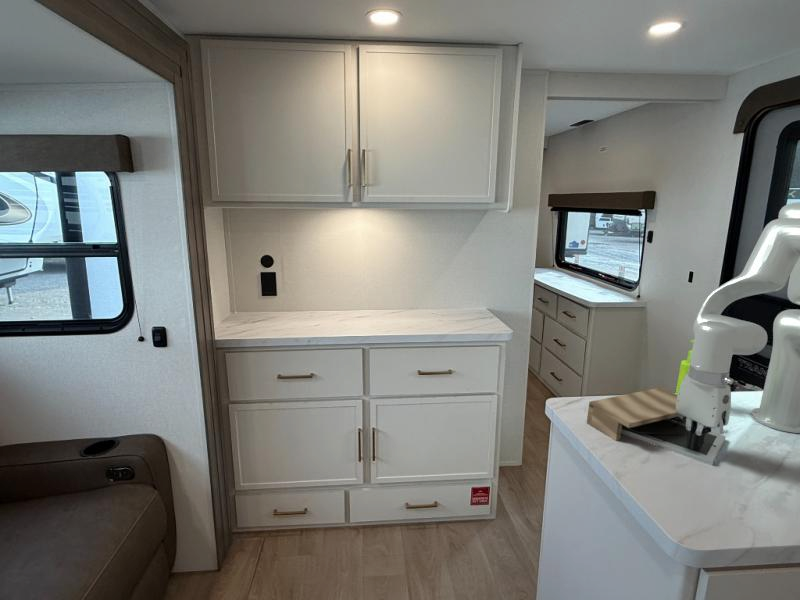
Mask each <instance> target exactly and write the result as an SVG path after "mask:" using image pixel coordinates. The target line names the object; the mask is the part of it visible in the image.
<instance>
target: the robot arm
mask: <svg viewBox="0 0 800 600" xmlns="http://www.w3.org/2000/svg"><path fill="white" fill-rule="evenodd" d="M777 217H778V218H776V219H773V220H771V221H770V222H768V223H767V224H766V225H765V227H764V228H763V230H762V232H761V234H760V236H759V238H758V240H757V241H756V244H755V246H754V248H753V250H752V252H751V254H750V256H749V258H748V260H747V261H746V264H745V266H744V268H743V269H742V271H741V272H740V274H738V276H736V277H734V278H732V279H730V280H729V281H727V282H725V283H723V284H721V285H720V286H718V287H717V288H716V289H714V290H713V291H712V292H711V293H710V294H709V295H708V296H707V297H706V298H705V300H704V301H703V303H702V305H701V307H700V308H699V309H700V310H699V311H698V313H697V315H696V317H695V320H694V322H693V325H692V326H693V327H692V333H693V335H694V339H693V340H694V344H692V348H693V350H692V349H691V350H692V355H691V361H690V366H689V371H688V374H687V375H685V377H684V379H683V381H682V384H681V386H680V389H679V393H678V396H677V400H676V415H677V416H679V417H680V418H681V419H683V421H684V424H686V429H687V430H688V434H687V439H686V441H687V444H686V446H687V447H690V448H691V449H693V450H694V449H698V448H701V447H702V446H703V442H704V437H705V434H707V433H709V432H710V433H713V434H718V435H723V434H724V426H728V425H729V422H730V414H731V403H732V392H731V385H732V384H733V383H734V379H733V378H731V377H730V369H731V364H732V360H733V359H732V357H733V355H739V356H751V355H754V354H757V353H759V352H761V351H762V350H763V349H764V348H765V346H766V345H767V343H768V334H767V330H765V328H764V327H762V326H761V325H759V324H756V323H754V322H751V321H746V320H743V319H742V320H741V319H738V318H736V317H735V318H734V317H730V316H726V315H722V313H723V312H724V310H725V309H726V308H727V307H728V306H729V305H730V304H732V303H733V302H735V301H737V300H741V299H743V298H747V297H751V296H755V295H761V294H766V293H772V292H777V291H780V290H782V289H783V288H784V287H786V285H787V283H788V285H787V298H788V300H789V301H790V302H791V303H793V304H794V305H795V304H796V305H797V306H798V305H799V306H800V202H791V203H788V204H785V205H784V206H782V207H781V209H780V210H779V212H778V216H777ZM772 326H773V327H772V333H773V334H772V336H773V337H772V339H773V340H772V350H771V355H770V360H769V364H768V369H767V373H766V377H765V383H764V387H763V391H762V396H761V400H760V405H759V407H758V408H757V407H756V408H753V409H752V410H751V413H750V416H751V417H752V419H753V420H755V421H756V422H757V423H760V424H762V425H764V426H766V427H769V428H771V429H774V430H778V431H782V432H787V433H793V434H800V309H798V308H797V309H793V308H792V309H786V310H782V311H780V312H779V313H778V314H777V315H776V317H775V318H774V321H773V324H772Z"/></svg>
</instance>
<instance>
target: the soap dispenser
mask: <svg viewBox="0 0 800 600" xmlns="http://www.w3.org/2000/svg"><path fill="white" fill-rule="evenodd" d="M689 342H690V343H693V344H694V339H690V341H689ZM693 344H692V345H693ZM691 348H692V349H690V350H688V351H687V352H688V353H687V357H686V359H684V360H681V362H680V366H679V372H678V377H677V384H676V389H675V394H676V395H678V393H679V389H680V386H681V384H682V381H683V379H684V377H685V375H687V374H688V371H689V366H690V361H691V355H692V350H693V347H691Z"/></svg>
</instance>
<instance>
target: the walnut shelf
mask: <svg viewBox="0 0 800 600" xmlns="http://www.w3.org/2000/svg"><path fill="white" fill-rule="evenodd" d="M677 396H678V395H676V393H674V392H671V391H669V390H667V389H665V388H662V387H657V388H652V389H651V388H650V389H645V390H641V391H637V392H631V393H627V394H621V395H617V396H611V397H606V398H601V399H596V400H592V401H589V402H588V409H587V419H586V424H587V425H589V426H590V427H592V428H594V429H595V430H597V431H599V432H601V433H602V434H603V435H605V436H607V437H609V438H611V440H613V441H615V442H616V441H620V440H621V436H622V433H621V430H622V425H624V426H626V427H628V428H631V427H635V426H639V425H643V424H648V423H652V422H656V421H660V420H664V419H671V418H673V419H675V420H676V421H678V422H681V423H684V421H683V419H681V418H680V417H679V416H677V415H676V400H677ZM684 424H685V423H684Z"/></svg>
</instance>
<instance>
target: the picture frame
mask: <svg viewBox="0 0 800 600" xmlns="http://www.w3.org/2000/svg"><path fill="white" fill-rule="evenodd" d="M687 434H688V430H687V429H686V424H685V423H683V422H681V421H679V420H676V419H675V420H674V419H671V418H668V419H664V420H660V421H656V422H652V423H648V424H643V425H639V426H635V427H631V428H628V427H626V426H624V425H622V430H621V435H624V436H627V437H630V436H631V437H630V438H633V439H636V440H639V441H641V440H642V441H641V442H644V441H645V443H647V442H649V443H648V444H650V443H652V444H651V445H653V444H655V445H658V446H660V447H659V448H661V447H663V448H662V449H664V448H665V450H667V449H668V450H667V451H669V452H672V451H673V452H672V453H676V454H679V455H682V456H684V457H687V458H690V459H693V460H695V461H697V462H701V463H703V464H707V465H710V466H713V464H714V463H715V461H716V460H717V457H718V455H719V453H720V451H721V449H722V447H723V445H724V443H725V442H726V436H725V435H723V434H719V435H718V434H713V433H710V432H709V433H707V434H705V437H704V442H703V446H702V447H701V448H698V449H694V450H693V449H691V448H690V447H687V446H686V444H687V441H686V439H687ZM655 445H654V446H655ZM658 446H657V447H658Z"/></svg>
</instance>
